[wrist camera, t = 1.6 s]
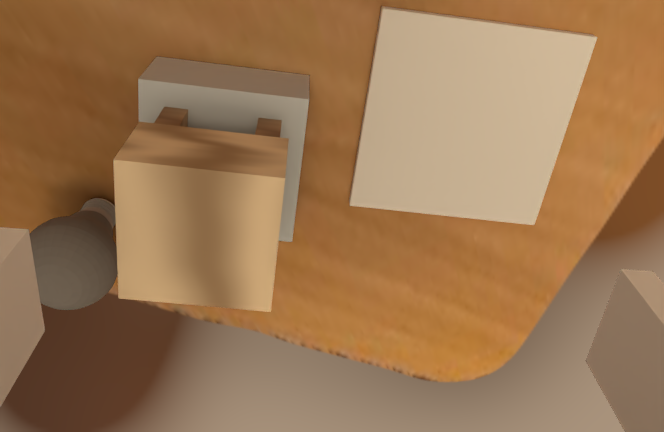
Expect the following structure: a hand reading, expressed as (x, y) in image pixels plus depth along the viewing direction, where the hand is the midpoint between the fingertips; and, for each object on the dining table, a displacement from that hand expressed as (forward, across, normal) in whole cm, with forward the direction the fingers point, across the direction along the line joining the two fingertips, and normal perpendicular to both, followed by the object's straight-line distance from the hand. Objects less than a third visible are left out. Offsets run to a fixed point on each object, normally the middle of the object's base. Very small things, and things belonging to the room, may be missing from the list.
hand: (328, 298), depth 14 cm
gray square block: (+29, -6, -8) cm, 31 cm away
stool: (+24, -6, -8) cm, 26 cm away
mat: (+29, +11, -6) cm, 32 cm away
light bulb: (+29, -15, -15) cm, 36 cm away
